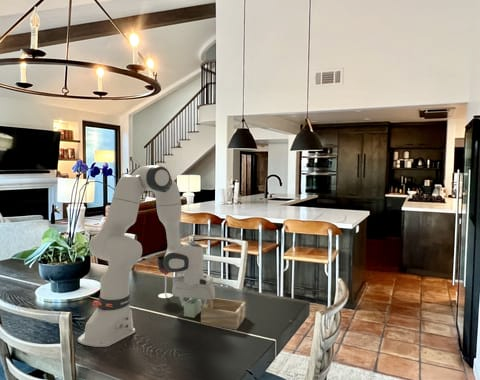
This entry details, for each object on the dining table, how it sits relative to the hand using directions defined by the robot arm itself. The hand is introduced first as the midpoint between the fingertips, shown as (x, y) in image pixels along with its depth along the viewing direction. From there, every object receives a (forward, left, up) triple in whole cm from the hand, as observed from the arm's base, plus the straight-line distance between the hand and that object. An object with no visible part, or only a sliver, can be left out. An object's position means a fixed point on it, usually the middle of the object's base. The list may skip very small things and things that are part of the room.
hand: (193, 307), depth 172 cm
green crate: (-1, 0, -3) cm, 3 cm away
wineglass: (+16, +23, -3) cm, 28 cm away
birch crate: (-4, -16, -3) cm, 17 cm away
